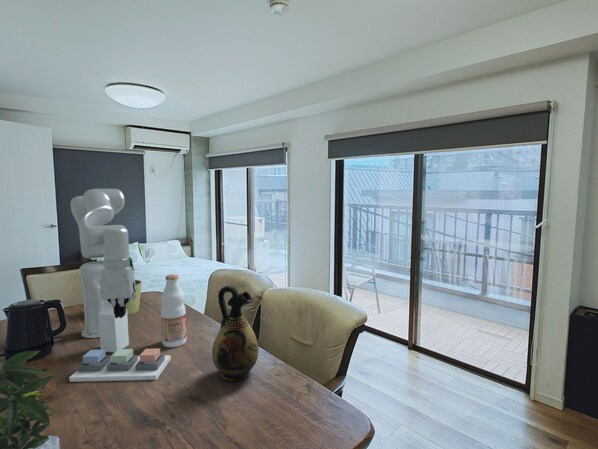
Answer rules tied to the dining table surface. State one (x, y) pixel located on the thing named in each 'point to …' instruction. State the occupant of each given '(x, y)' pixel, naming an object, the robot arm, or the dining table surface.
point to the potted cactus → (134, 304)
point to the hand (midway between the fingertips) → (120, 316)
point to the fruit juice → (173, 313)
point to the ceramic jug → (234, 338)
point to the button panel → (120, 370)
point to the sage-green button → (122, 356)
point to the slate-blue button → (94, 356)
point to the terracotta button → (150, 355)
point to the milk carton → (112, 329)
